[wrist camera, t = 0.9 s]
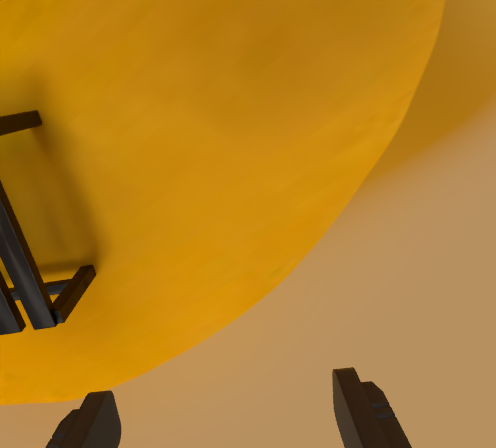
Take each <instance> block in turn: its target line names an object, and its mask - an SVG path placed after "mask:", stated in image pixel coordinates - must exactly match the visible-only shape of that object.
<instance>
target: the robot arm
mask: <svg viewBox="0 0 496 448" xmlns="http://www.w3.org/2000/svg"><path fill="white" fill-rule="evenodd" d="M332 373H333V375H332V376H333V403H334V412H335V417H336V421H337V425H338V428H339V431H340V434H341V438H342V441H343V443H344V447H345V448H412V447H411V445H410V443H409V441H408V439H407V437H406V436H405V433H404V431H403V430H402V428H401V426H400V424H399V422H398V420H397V418H396V417H395V414H394V412H393V410H392V408H391V407H390V405H389V402H388V401H387V399H386V397H385V395H384V393H383V391H382V390H381V389H379V388H378V387H377V386H376V385H375V384H374V383H373V382H371V381H370V382H360V379H359V377H358V375H357V373H356V371H355V369H354V368H353V367H352V368H343V369H333V372H332ZM120 438H121V423H120V418H119V415H118V411H117V407H116V403H115V399H114V395H113V393H112V391H100V392H90V393H88V394H87V396H86V397H85V399H84V401H83V403H82V405H81V407H80V409H76V410H72V411H71V412H70V413H69V414H68V415H67V416H66V417H65V418H64V419H63V420H62V421H61V422H60V424H59V425H58V427H57V429H56V430H55V432H54V434H53V436H52V439H50V441H49V442H48V444H47V446H46V448H118V446H119V443H120Z"/></svg>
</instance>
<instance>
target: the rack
mask: <svg viewBox="0 0 496 448" xmlns="http://www.w3.org/2000/svg"><path fill="white" fill-rule="evenodd" d="M39 125H42V122H41V119H40V116H39V113H38V111H37V110H35V111H28V112H22V113H17V114H11V115H5V116H0V136H1V135H5V134H9V133H13V132H16V131H20V130H24V129H28V128H32V127H36V126H39ZM0 257H1V259H2V261H3V263H4V265H5V268H6V270H7V272H8V274H9V276H10V278H11V280H12V283H13V285H14V288H8V286H7V284H6V282H5V280H4V277H3V275H2V273H1V271H0V335H4V334H11V333H17V332H22V331H23V329H24V328H25V327H26V324H25V322H24V320H23V318H22V316H21V314H20V311H19V309H18V307H17V305H16V303H15V300H21V302H22V304H23V306H24V309H25V311H26V313H27V315H28V317H29V319H30V322H31V324H32V326H33V328H34V330H37V329H44V328H50V327H56V326H57V324H59V323H64V322H65V321H66V319H67V318H68V316H69V315H70V313H71V312H72V310H73V309H74V307H75V306H76V304H77V303H78V301H79V300H80V298H81V297H82V295H83V294H84V292H85V291H86V289H87V288H88V286H89V285H90V283H91V282H92V280H93V279H94V277H95V276H96V273H95V270H94V268H93V265H89V266H82V267H80V269H79V270H78V271H77V272H76V274H75V275H74V276H73V278H72V279H67V280H60V281H54V282H47V283H44V282H43V280H42V277H41V275H40V273H39V270H38V268H37V265H36V263H35V261H34V258H33V256H32V254H31V251H30V249H29V247H28V244H27V242H26V240H25V237H24V235H23V232H22V230H21V228H20V225H19V223H18V221H17V218H16V216H15V214H14V211H13V209H12V207H11V204H10V202H9V199H8V197H7V195H6V192H5V190H4V188H3V185H2V183H1V181H0ZM55 294H59V296H58V297H57V298H56V299H55V301H54V302H53V303H52V301H51V299H50V296H49V295H55Z"/></svg>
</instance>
